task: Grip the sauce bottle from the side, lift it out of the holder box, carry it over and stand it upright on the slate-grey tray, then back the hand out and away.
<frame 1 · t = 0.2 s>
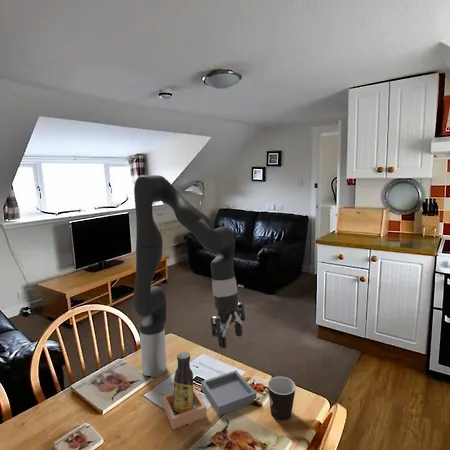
hand: (231, 341, 102), 23 cm above the table, tool pointing down, fingers open, 8 cm apart
holder box: (184, 411, 104), on the table
tray: (228, 395, 111), on the table
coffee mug: (281, 410, 104), on the table
sauce bottle: (184, 411, 104), resting in holder box
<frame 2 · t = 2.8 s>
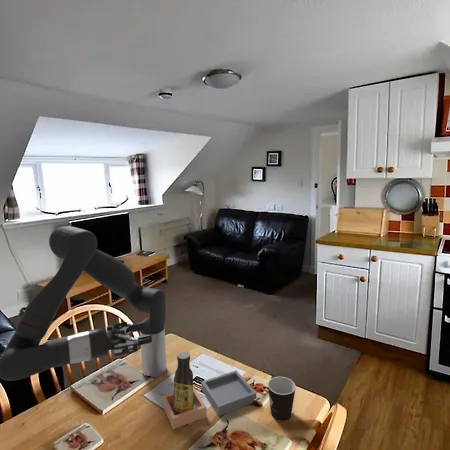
hand: (147, 331, 94), 30 cm above the table, tool horizontal, fingers open, 8 cm apart
nothing on the table moved.
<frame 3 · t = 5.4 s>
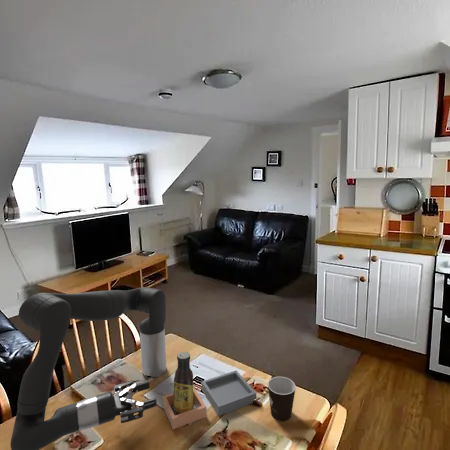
hand: (152, 392, 98), 10 cm above the table, tool horizontal, fingers open, 8 cm apart
nothing on the table moved.
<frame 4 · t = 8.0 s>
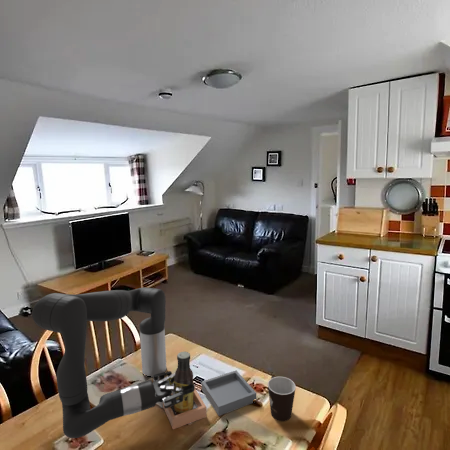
hand: (190, 380, 103), 10 cm above the table, tool horizontal, fingers closed on sauce bottle, 6 cm apart
sauce bottle: (184, 411, 104), resting in holder box, touching gripper
everything else where it was.
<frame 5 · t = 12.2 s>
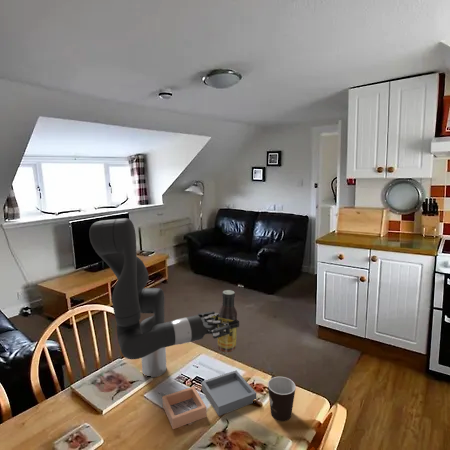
hand: (233, 319, 108), 28 cm above the table, tool horizontal, fingers closed on sauce bottle, 6 cm apart
sauce bottle: (227, 349, 108), point 17 cm above the table, touching gripper
everything else where it was.
when the fingers open (12 cm above the table, at t = 16.4 s): sauce bottle stays where it is, resting on tray.
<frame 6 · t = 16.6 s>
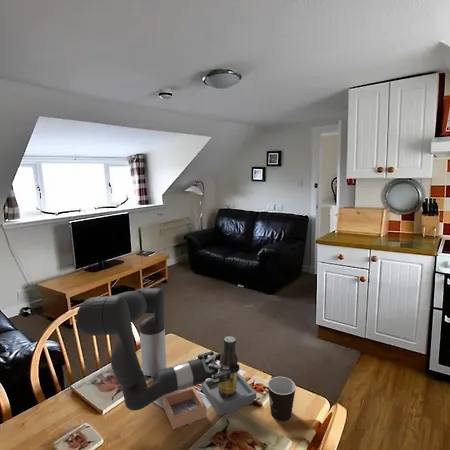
hand: (233, 360, 110), 12 cm above the table, tool horizontal, fingers open, 8 cm apart
sauce bottle: (227, 392, 111), point 1 cm above the table, touching tray
everything else where it was.
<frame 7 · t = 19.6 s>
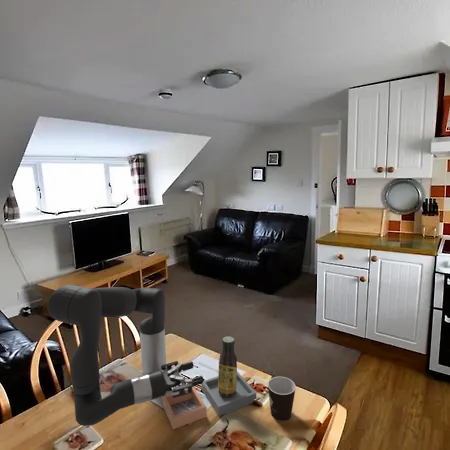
hand: (197, 371, 104), 12 cm above the table, tool horizontal, fingers open, 8 cm apart
nothing on the table moved.
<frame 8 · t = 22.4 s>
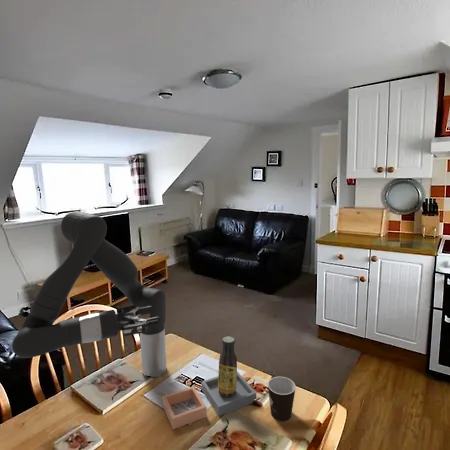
hand: (155, 314, 97), 34 cm above the table, tool horizontal, fingers open, 8 cm apart
nothing on the table moved.
at the end: sauce bottle inside the target area on the tray (0.2 cm from its centre), point 1.0 cm above the tray's base; sauce bottle tilted 0°; the gripper is holding nothing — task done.
